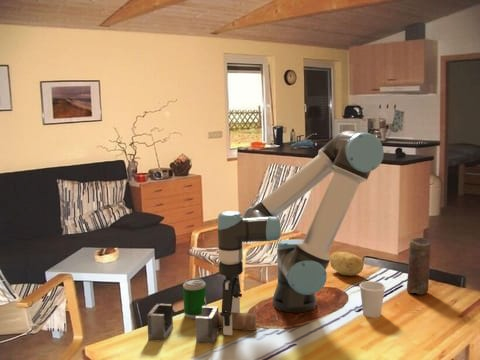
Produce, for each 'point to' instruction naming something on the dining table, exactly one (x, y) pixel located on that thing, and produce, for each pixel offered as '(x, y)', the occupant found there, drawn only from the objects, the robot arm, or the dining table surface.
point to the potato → (346, 263)
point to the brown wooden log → (240, 321)
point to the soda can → (194, 297)
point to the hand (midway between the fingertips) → (232, 325)
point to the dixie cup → (372, 298)
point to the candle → (418, 266)
